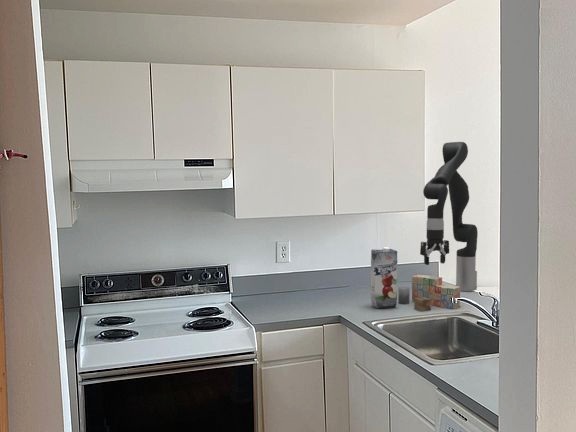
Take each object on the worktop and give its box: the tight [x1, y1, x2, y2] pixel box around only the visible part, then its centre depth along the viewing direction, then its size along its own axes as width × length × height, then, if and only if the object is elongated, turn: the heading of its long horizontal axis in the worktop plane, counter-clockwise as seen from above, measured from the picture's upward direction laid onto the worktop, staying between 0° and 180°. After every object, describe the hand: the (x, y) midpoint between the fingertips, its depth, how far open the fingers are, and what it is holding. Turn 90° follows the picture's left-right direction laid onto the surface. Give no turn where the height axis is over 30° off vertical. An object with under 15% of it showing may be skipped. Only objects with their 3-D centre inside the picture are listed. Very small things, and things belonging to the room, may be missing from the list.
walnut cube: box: [413, 297, 432, 313], centre depth 263 cm, size 5×5×5 cm
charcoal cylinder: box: [397, 286, 410, 305], centre depth 275 cm, size 5×5×7 cm
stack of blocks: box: [411, 274, 461, 310], centre depth 272 cm, size 21×6×12 cm, turn 45°
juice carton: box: [370, 246, 398, 310], centre depth 268 cm, size 9×10×27 cm
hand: (434, 263), depth 271 cm, fingers open, 8 cm apart
